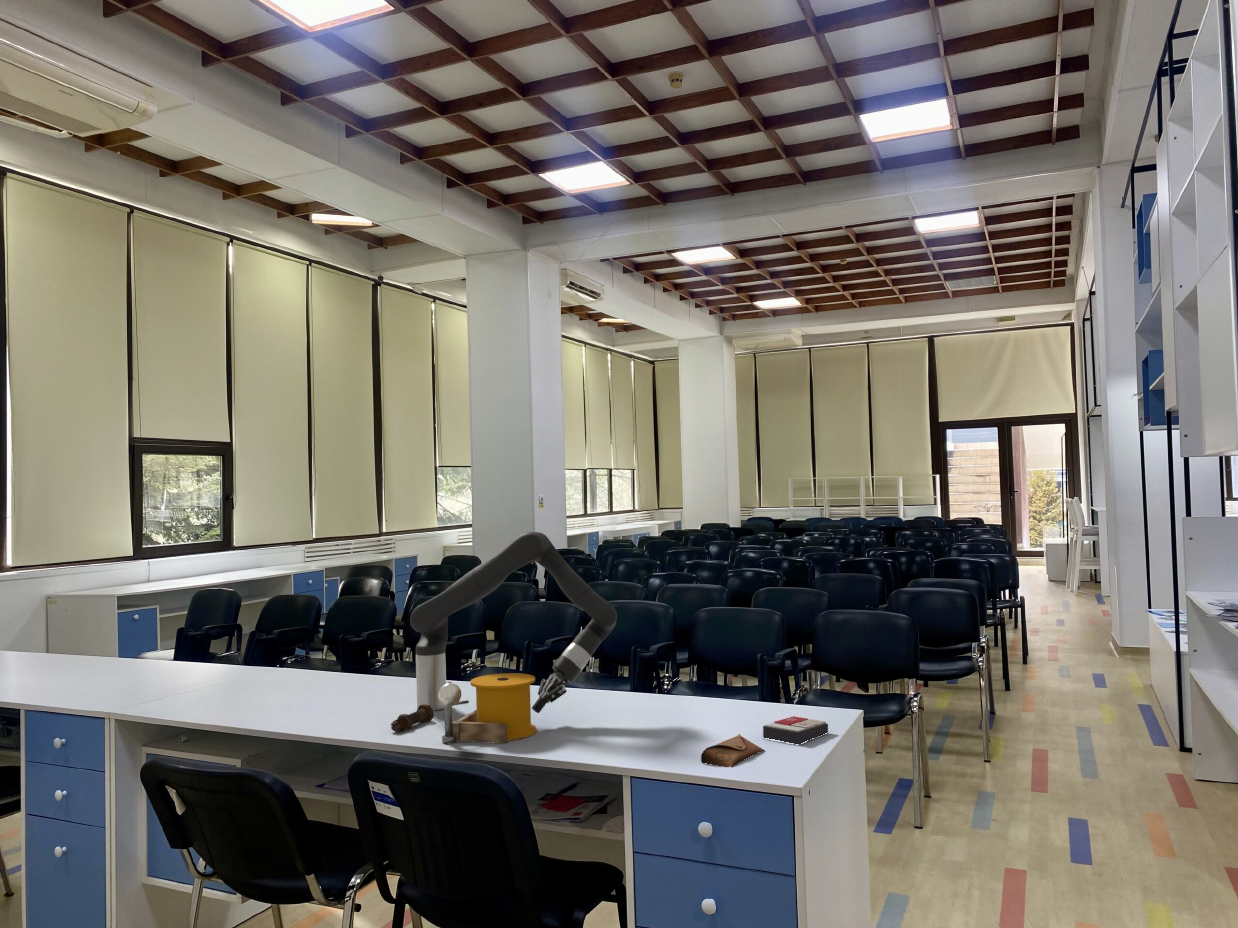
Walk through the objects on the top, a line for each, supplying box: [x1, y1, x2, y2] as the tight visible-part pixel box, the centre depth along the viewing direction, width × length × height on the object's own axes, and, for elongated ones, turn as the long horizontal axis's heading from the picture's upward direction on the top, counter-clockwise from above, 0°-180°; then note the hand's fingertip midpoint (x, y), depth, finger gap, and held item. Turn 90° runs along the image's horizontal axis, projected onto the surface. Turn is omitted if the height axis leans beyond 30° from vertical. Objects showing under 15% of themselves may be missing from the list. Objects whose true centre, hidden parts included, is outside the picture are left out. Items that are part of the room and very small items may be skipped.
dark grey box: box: [762, 716, 829, 744], centre depth 236 cm, size 11×4×15 cm
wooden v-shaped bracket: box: [452, 709, 509, 744], centre depth 245 cm, size 12×22×5 cm, turn 30°
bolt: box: [390, 704, 435, 733], centre depth 260 cm, size 6×5×15 cm
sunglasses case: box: [700, 733, 765, 768], centre depth 219 cm, size 18×7×7 cm
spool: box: [469, 672, 538, 741], centre depth 250 cm, size 18×18×15 cm
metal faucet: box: [438, 681, 470, 744], centre depth 242 cm, size 9×4×16 cm, turn 120°
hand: (534, 710), depth 254 cm, fingers closed
